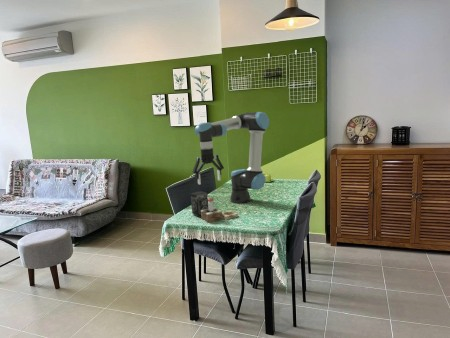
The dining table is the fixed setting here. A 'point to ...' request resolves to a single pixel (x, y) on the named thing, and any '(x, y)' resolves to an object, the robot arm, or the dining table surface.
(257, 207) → the dining table surface
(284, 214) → the dining table surface
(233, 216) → the mount block
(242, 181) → the robot arm
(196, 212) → the camera
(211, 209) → the lock pin
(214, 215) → the dock block
